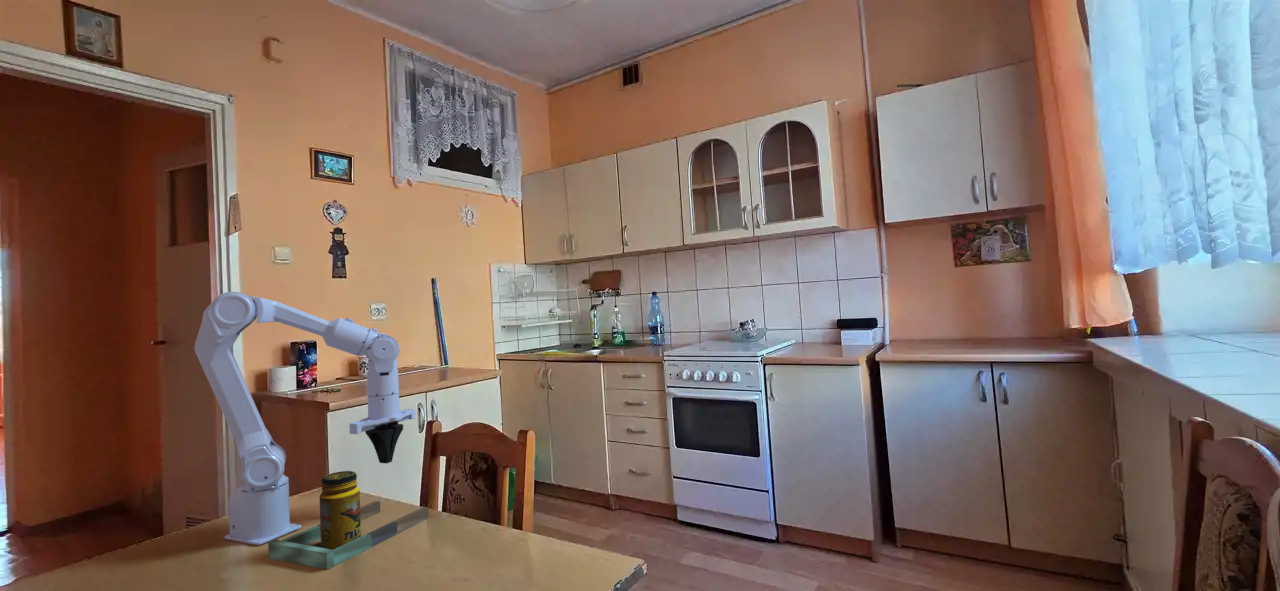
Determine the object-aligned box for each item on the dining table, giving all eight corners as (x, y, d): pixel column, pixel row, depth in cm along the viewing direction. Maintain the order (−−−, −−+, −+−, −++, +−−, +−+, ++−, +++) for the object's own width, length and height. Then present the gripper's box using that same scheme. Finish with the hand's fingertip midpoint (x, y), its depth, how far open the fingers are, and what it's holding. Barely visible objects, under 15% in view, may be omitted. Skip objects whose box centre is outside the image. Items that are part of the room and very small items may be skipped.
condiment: (369, 545, 94) (366, 473, 94) (312, 562, 88) (310, 486, 88) (355, 533, 99) (353, 466, 99) (301, 549, 93) (299, 477, 93)
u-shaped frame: (268, 557, 90) (268, 542, 90) (376, 510, 110) (375, 498, 110) (327, 569, 85) (326, 553, 85) (428, 518, 105) (428, 504, 105)
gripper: (367, 401, 102) (370, 474, 102) (425, 388, 116) (427, 453, 116) (340, 400, 105) (342, 471, 105) (400, 388, 118) (402, 451, 118)
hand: (385, 462), depth 110 cm, fingers closed
